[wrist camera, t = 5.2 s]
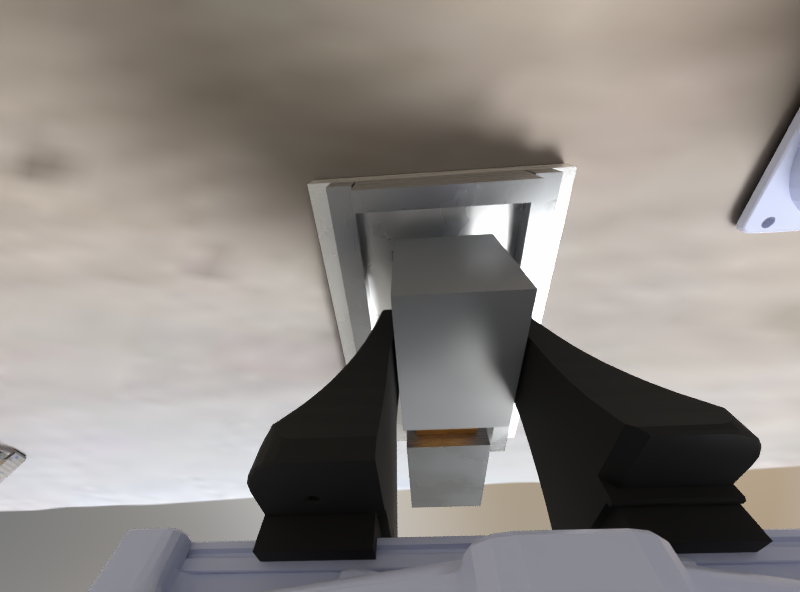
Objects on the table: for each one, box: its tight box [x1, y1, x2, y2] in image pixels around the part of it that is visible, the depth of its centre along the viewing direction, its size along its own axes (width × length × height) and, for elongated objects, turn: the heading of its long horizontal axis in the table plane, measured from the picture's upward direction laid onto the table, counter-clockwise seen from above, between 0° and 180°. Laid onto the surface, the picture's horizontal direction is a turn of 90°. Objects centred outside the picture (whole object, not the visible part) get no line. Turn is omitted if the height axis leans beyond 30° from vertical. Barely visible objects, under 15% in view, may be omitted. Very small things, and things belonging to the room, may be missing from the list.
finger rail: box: [307, 163, 577, 507], centre depth 15 cm, size 11×18×6 cm, turn 4°
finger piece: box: [391, 234, 538, 431], centre depth 12 cm, size 4×6×4 cm, turn 4°
